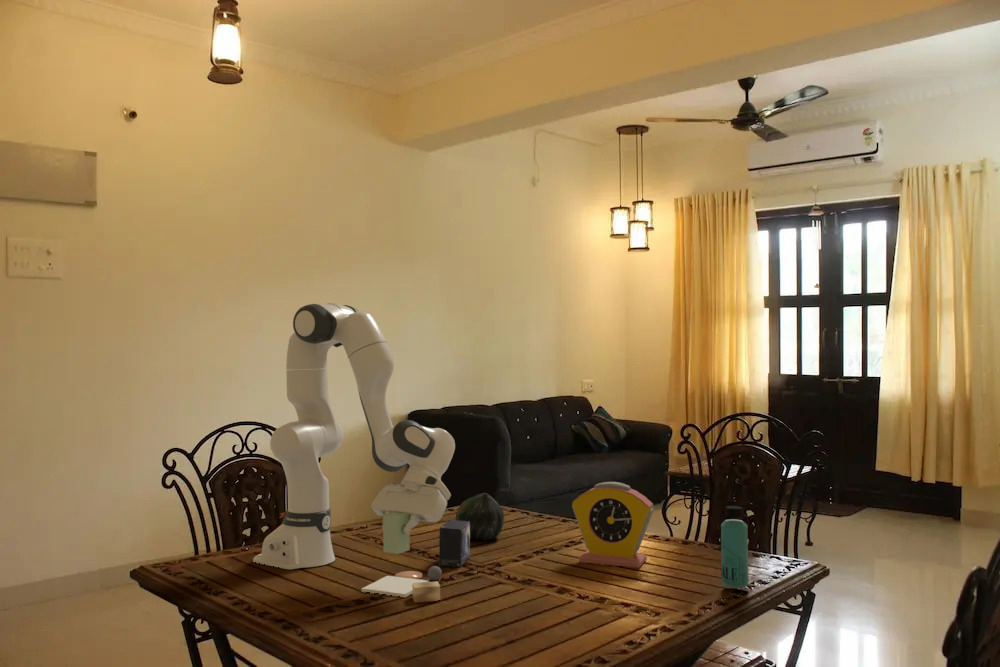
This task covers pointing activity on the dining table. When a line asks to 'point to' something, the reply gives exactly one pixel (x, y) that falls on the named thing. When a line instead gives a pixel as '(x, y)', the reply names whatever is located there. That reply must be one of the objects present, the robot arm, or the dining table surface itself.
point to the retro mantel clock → (613, 524)
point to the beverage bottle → (734, 549)
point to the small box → (454, 543)
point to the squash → (482, 516)
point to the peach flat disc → (409, 574)
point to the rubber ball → (434, 573)
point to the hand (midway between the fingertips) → (394, 531)
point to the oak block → (426, 591)
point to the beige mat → (393, 586)
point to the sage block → (395, 533)
